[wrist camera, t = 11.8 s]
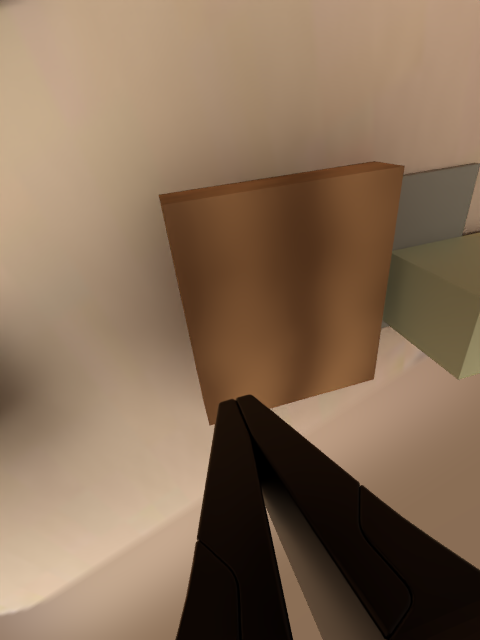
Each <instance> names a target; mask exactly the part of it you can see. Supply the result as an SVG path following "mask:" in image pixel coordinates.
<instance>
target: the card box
mask: <svg viewBox="0 0 480 640" xmlns="http://www.w3.org/2000/svg"><path fill="white" fill-rule="evenodd" d="M382 320H383V321H384V322H385V323H387V324H388V325H389V326H390V327H392V328H393V329H394V330H396V331H397V332H398V333H399V334H401V335H402V336H403V337H404V338H406V339H407V340H408V341H410V342H411V343H412V344H413V345H415V346H416V347H417V348H418V349H420V350H421V351H422V352H424V353H425V354H426V355H427V356H429V357H430V358H431V359H432V360H434V361H435V362H436V363H438V364H439V365H440V366H441V367H443V368H444V369H445V370H446V371H448V372H449V373H450V374H452V375H453V376H454V377H456V378H457V379H458V380H459V379H462V378H466V377H469V376H473V375H476V374H479V373H480V232H479V233H474V234H470V235H465V236H460V237H456V238H451V239H446V240H442V241H437V242H432V243H427V244H423V245H418V246H413V247H409V248H404V249H399V250H394V251H392V256H391V263H390V270H389V277H388V284H387V290H386V297H385V304H384V311H383V318H382Z"/></svg>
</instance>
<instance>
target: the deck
mask: <svg viewBox="0 0 480 640" xmlns="http://www.w3.org/2000/svg"><path fill="white" fill-rule="evenodd" d="M403 173H404V166H401V165H394V164H388V163H381V162H375V161H374V162H368V163H361V164H355V165H348V166H342V167H335V168H329V169H323V170H316V171H310V172H303V173H297V174H290V175H284V176H277V177H271V178H265V179H258V180H252V181H245V182H239V183H232V184H226V185H220V186H213V187H207V188H200V189H194V190H187V191H181V192H174V193H168V194H162V195H159V198H160V203H161V207H162V212H163V217H164V221H165V226H166V231H167V235H168V240H169V244H170V249H171V254H172V258H173V263H174V267H175V272H176V277H177V281H178V286H179V290H180V295H181V300H182V304H183V309H184V313H185V318H186V323H187V327H188V332H189V337H190V341H191V346H192V350H193V355H194V360H195V364H196V369H197V373H198V378H199V383H200V387H201V392H202V396H203V401H204V405H205V409H206V413H207V417H208V421H209V425H213V424H215V422H216V416H217V410H218V404H219V403H220V402H222V401H226V400H230V399H234V400H236V398H237V397H241V396H244V395H248V394H251V395H253V396H254V397H255V398H257V399H258V400H259V401H260V402H262V403H263V404H264V405H265V406H266V407H268V408H269V409H270V408H273V407H277V406H280V405H284V404H287V403H291V402H295V401H298V400H302V399H305V398H309V397H312V396H316V395H319V394H323V393H326V392H330V391H334V390H337V389H341V388H344V387H348V386H351V385H355V384H358V383H362V382H365V381H369V380H372V379H374V374H375V367H376V360H377V353H378V346H379V339H380V332H381V325H382V318H383V311H384V304H385V297H386V290H387V284H388V277H389V270H390V263H391V256H392V249H393V242H394V235H395V228H396V221H397V214H398V207H399V200H400V193H401V186H402V179H403Z"/></svg>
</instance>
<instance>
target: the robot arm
mask: <svg viewBox="0 0 480 640" xmlns="http://www.w3.org/2000/svg"><path fill="white" fill-rule="evenodd" d="M265 506H266V507H265ZM266 508H267V511H268V513H269V515H270V518H271V520H272V522H273V525H274V527H275V529H276V532H277V534H278V536H279V538H280V541H281V543H282V545H283V548H284V550H285V552H286V555H287V557H288V559H289V562H290V564H291V566H292V569H293V571H294V573H295V576H296V578H297V580H298V583H299V585H300V587H301V589H302V592H303V594H304V597H305V599H306V601H307V603H308V606H309V608H310V610H311V613H312V615H313V617H314V620H315V622H316V624H317V627H318V629H319V631H320V634H321V636H322V638H323V640H480V570H479V569H477V568H476V567H475V566H473V565H472V564H470V563H469V562H467V561H466V560H464V559H463V558H461V557H460V556H458V555H457V554H455V553H454V552H452V551H451V550H450V549H448V548H447V547H445V546H444V545H442V544H441V543H439V542H438V541H436V540H435V539H433V538H432V537H430V536H429V535H428V534H426V533H425V532H423V531H422V530H420V529H419V528H417V527H416V526H415V525H413V524H412V523H410V522H409V521H408V520H406V519H405V518H403V517H402V516H401V515H399V514H398V513H397V512H396V511H394V510H393V509H392V508H390V507H389V506H388V505H386V504H385V503H384V502H383V501H381V500H380V499H379V498H378V497H376V496H375V495H374V494H373V493H371V492H370V491H369V490H368V489H367V488H365V487H364V486H363V485H361V486H360V483H359V482H358V481H357V480H355V479H354V478H353V477H352V476H351V475H349V474H348V473H347V472H346V471H344V470H343V469H342V468H341V467H340V466H338V465H337V464H336V463H335V462H333V461H332V460H331V459H330V458H329V457H327V456H326V455H325V454H324V453H322V452H321V451H320V450H319V449H318V448H316V447H315V446H314V445H313V444H311V443H310V442H309V441H308V440H307V439H305V438H304V437H303V436H302V435H301V434H299V433H298V432H297V431H296V430H295V429H293V428H292V427H291V426H290V425H288V424H287V423H286V422H285V421H284V420H282V419H281V418H280V417H279V416H277V415H276V414H275V413H274V412H273V411H271V410H270V409H269V408H268V407H266V406H265V405H264V404H263V403H262V402H260V401H259V400H258V399H257V398H255V397H254V396H253V395H251V394H248V395H244V396H241V397H237V398H236V400H234V399H230V400H226V401H222V402H220V403H219V404H218V410H217V416H216V422H215V428H214V434H213V441H212V447H211V453H210V459H209V465H208V472H207V478H206V484H205V490H204V497H203V503H202V509H201V516H200V522H199V528H198V535H197V542H196V545H195V551H194V557H193V563H192V569H191V574H190V580H189V584H188V589H187V595H186V599H185V603H184V607H183V612H182V616H181V620H180V624H179V628H178V632H177V636H176V640H293V637H292V632H291V627H290V623H289V618H288V613H287V608H286V603H285V599H284V594H283V589H282V584H281V579H280V574H279V570H278V565H277V560H276V555H275V550H274V546H273V541H272V537H271V531H270V526H269V522H268V517H267V512H266Z"/></svg>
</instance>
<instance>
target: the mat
mask: <svg viewBox="0 0 480 640" xmlns="http://www.w3.org/2000/svg"><path fill="white" fill-rule="evenodd" d="M479 167H480V164H478V163H472V164H466V165H460V166H454V167H448V168H442V169H436V170H430V171H424V172H418V173H412V174H406V175H403V179H402V186H401V193H400V200H399V207H398V214H397V221H396V228H395V235H394V242H393V249H392V251H394V250H399V249H404V248H409V247H413V246H418V245H423V244H427V243H432V242H437V241H442V240H446V239H451V238H456V237H460V236H462V234H463V230H464V226H465V222H466V218H467V214H468V210H469V206H470V202H471V198H472V194H473V190H474V186H475V182H476V178H477V174H478V170H479ZM388 326H389V325H388V324H387V323H385V322H384V321H383V320H382V325H381V328H384V327H388Z"/></svg>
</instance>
